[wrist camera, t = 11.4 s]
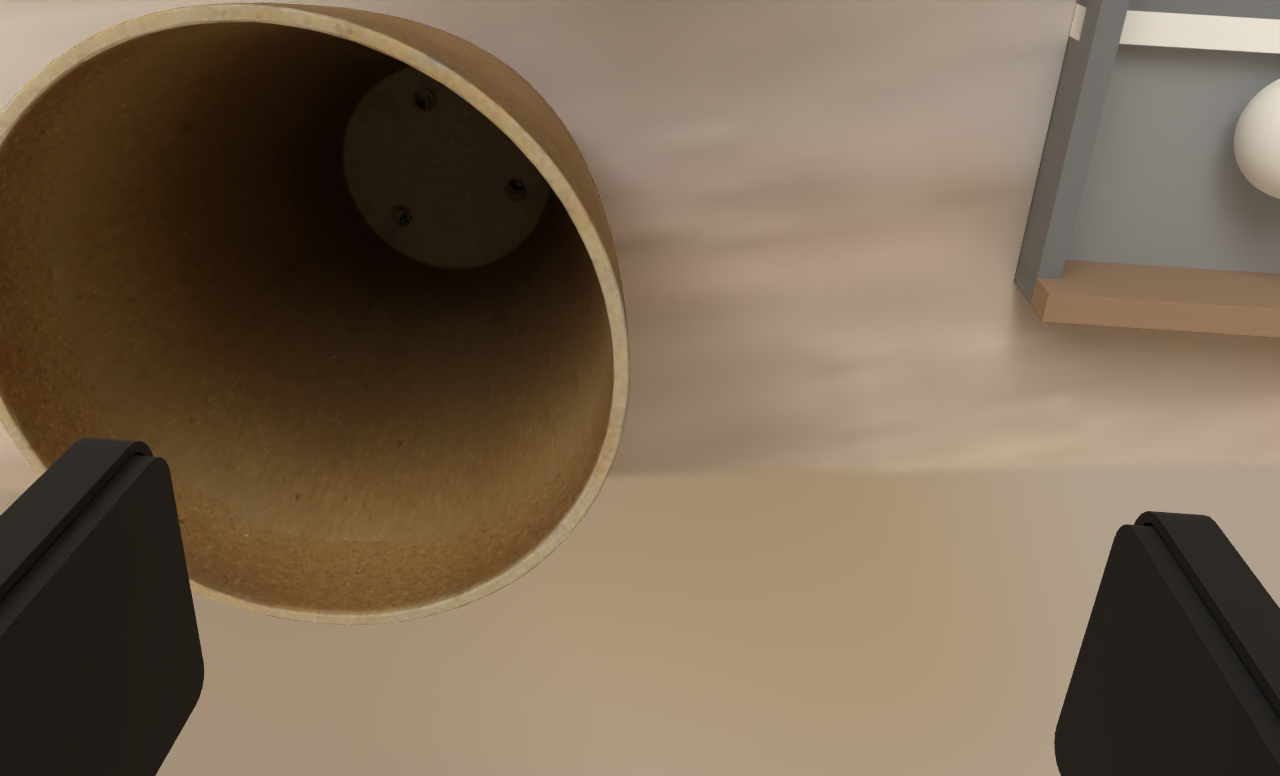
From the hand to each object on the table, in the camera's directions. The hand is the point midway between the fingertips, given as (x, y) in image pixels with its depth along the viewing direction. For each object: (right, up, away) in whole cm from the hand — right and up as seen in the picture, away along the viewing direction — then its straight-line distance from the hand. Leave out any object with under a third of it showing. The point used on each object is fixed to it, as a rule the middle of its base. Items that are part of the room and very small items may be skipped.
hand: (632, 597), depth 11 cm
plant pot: (-7, +10, +27) cm, 30 cm away
